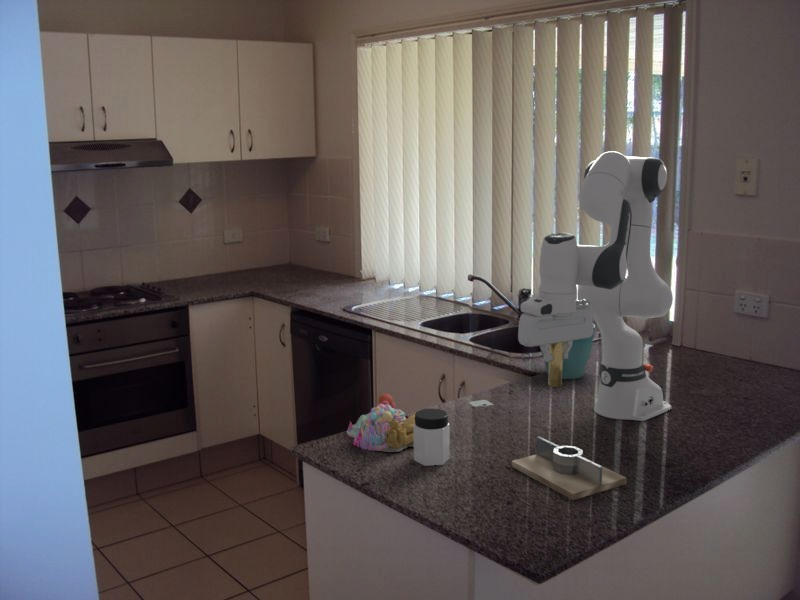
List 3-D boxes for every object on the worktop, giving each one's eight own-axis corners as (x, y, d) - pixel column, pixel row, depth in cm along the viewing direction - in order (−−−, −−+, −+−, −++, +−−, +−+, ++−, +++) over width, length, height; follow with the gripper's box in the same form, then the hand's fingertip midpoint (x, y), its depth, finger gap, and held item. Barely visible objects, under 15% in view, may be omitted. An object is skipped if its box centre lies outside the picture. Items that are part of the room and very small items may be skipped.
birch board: (562, 453, 215) (562, 447, 215) (626, 484, 197) (626, 477, 197) (511, 466, 208) (511, 460, 207) (572, 500, 189) (573, 493, 189)
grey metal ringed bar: (548, 451, 213) (548, 434, 212) (611, 482, 194) (612, 463, 193) (527, 456, 210) (527, 439, 209) (589, 488, 191) (589, 470, 190)
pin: (555, 382, 207) (557, 333, 205) (564, 385, 205) (566, 336, 202) (545, 384, 206) (546, 335, 204) (554, 387, 203) (555, 338, 201)
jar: (423, 451, 218) (423, 406, 216) (453, 455, 215) (453, 410, 213) (409, 463, 210) (408, 417, 208) (440, 469, 207) (440, 421, 205)
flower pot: (561, 363, 293) (562, 315, 290) (605, 375, 280) (606, 324, 276) (526, 374, 282) (526, 324, 278) (569, 386, 268) (570, 333, 265)
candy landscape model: (453, 435, 230) (453, 402, 228) (393, 462, 213) (393, 426, 211) (384, 415, 246) (384, 384, 244) (324, 438, 229) (323, 405, 227)
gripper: (582, 296, 209) (580, 351, 212) (514, 305, 199) (513, 362, 202) (600, 300, 204) (598, 357, 206) (531, 309, 194) (530, 368, 196)
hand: (555, 360), depth 204 cm, fingers closed on pin, 3 cm apart
